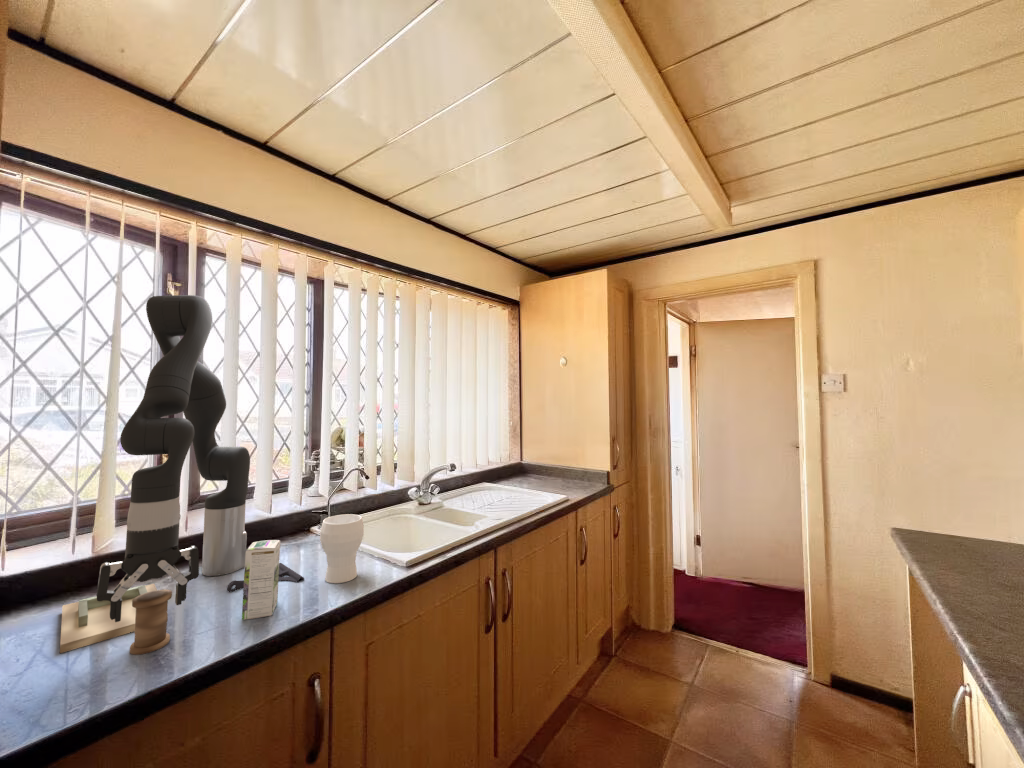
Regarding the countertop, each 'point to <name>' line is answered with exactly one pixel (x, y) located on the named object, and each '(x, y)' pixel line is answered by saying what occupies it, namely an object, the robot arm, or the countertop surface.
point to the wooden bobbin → (150, 621)
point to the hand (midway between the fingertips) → (148, 611)
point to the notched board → (97, 620)
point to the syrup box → (261, 579)
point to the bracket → (282, 572)
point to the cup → (341, 546)
